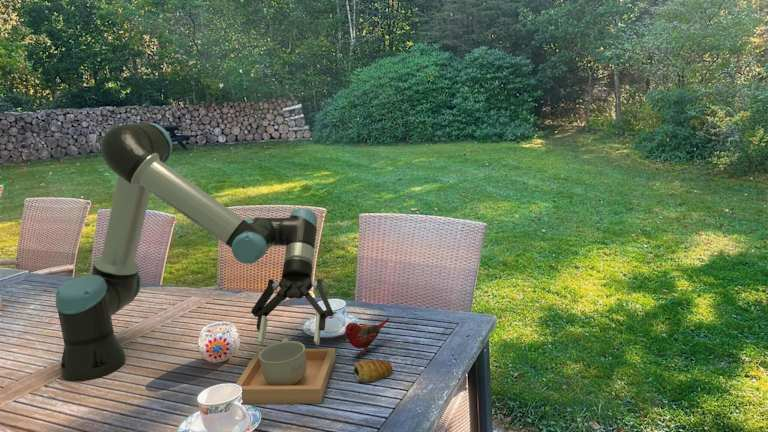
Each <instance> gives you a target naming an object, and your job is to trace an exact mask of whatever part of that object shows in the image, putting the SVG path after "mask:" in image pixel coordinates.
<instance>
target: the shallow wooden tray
mask: <svg viewBox="0 0 768 432" xmlns="http://www.w3.org/2000/svg"><path fill="white" fill-rule="evenodd" d="M263 349H264V348H263ZM263 349H262V348H261V349H260V348H258V349H257V351H256V353H255V354H254V355H253V357H252V359H250V361H249V363H248V365H247V366H246V367H245V369H244V370H243V372H242V374H241V375H240V377H239V378H238V380H237V381H236V382H235V384H237V385H239V386H241V387H242V391H243V392H242V400H243V403H242V404H322V403H323V399H324V397H325V393H326V391H327V387H328V385H329V383H330V379H331V376H332V373H333V370H334V368H335V364H336V362H337V358H336V348H335V347H334V348H333V347H332V348H305V354H306V362H307V370H306V373H305V375H304V376H303V377H302V378H301V379H300V381H299V382H297V383H296V384H294V385H292V386H274V385H271V384H269V383H268V382H267V381H266V380H265V379H264V377H263V373H262V369H261V364H260V359H259V353H260V352H261V351H262V350H263Z"/></svg>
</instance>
